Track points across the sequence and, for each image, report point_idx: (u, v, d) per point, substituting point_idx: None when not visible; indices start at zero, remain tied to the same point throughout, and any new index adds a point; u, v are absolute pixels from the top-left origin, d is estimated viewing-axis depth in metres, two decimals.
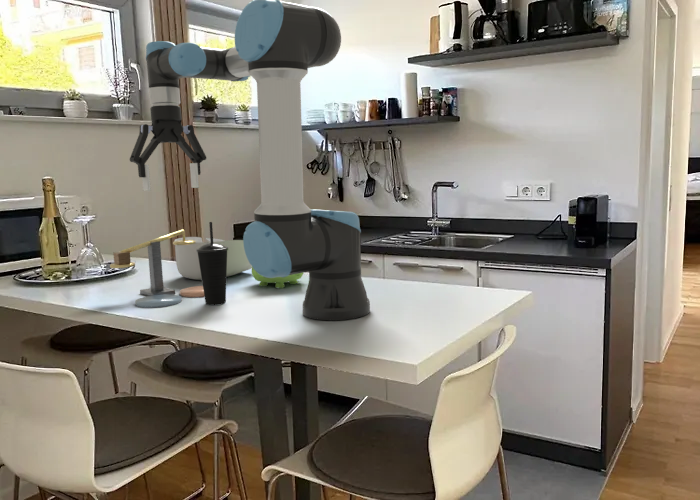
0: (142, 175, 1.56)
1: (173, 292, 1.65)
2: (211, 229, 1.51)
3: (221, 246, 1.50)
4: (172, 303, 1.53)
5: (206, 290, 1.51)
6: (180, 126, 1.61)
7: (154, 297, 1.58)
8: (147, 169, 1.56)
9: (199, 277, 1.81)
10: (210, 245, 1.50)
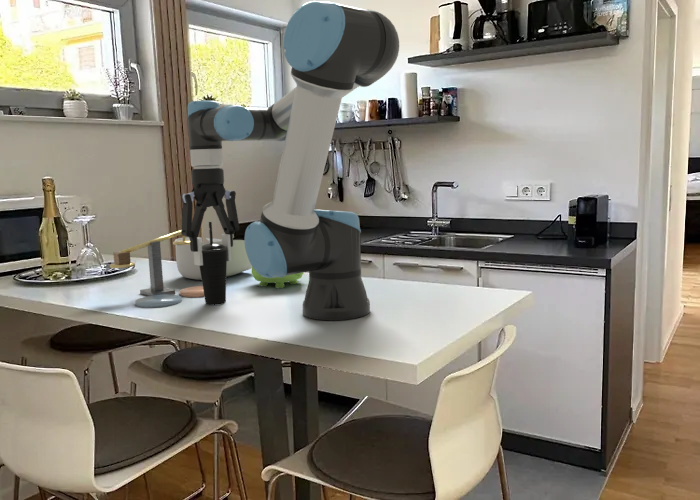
0: (194, 249, 1.47)
1: (173, 292, 1.65)
2: (210, 229, 1.50)
3: (221, 246, 1.50)
4: (172, 303, 1.53)
5: (206, 290, 1.51)
6: (223, 189, 1.51)
7: (154, 297, 1.58)
8: (200, 243, 1.48)
9: (199, 277, 1.81)
10: (210, 245, 1.49)
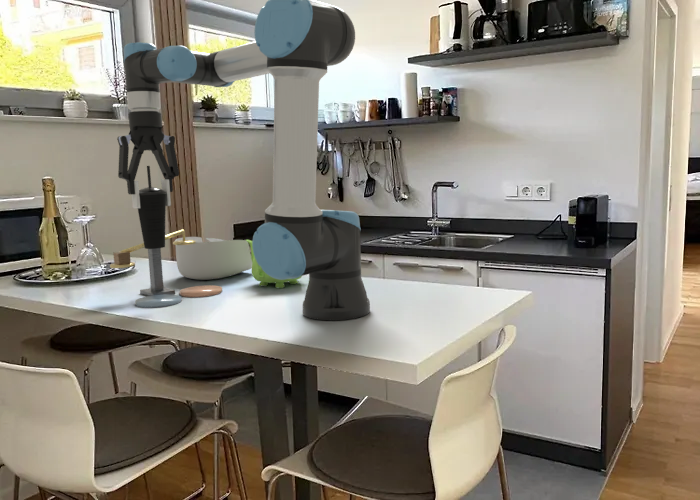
0: (131, 192, 1.48)
1: (173, 292, 1.65)
2: (149, 173, 1.51)
3: (159, 190, 1.51)
4: (172, 303, 1.53)
5: (144, 234, 1.51)
6: (161, 133, 1.52)
7: (154, 297, 1.58)
8: (137, 186, 1.48)
9: (200, 277, 1.81)
10: (147, 188, 1.50)
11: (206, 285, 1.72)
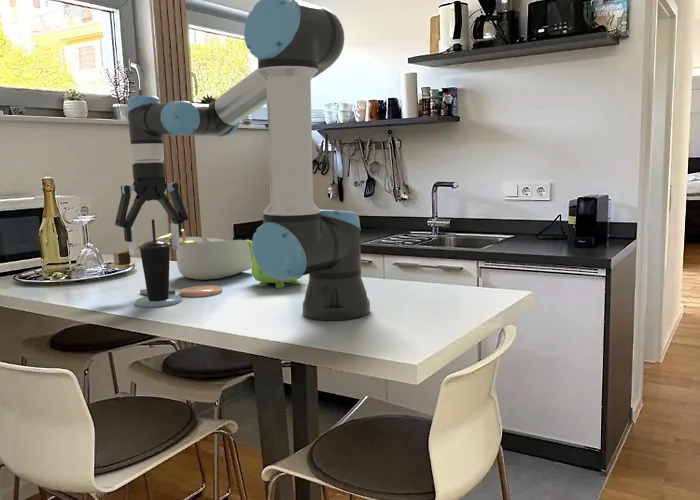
0: (128, 240, 1.49)
1: (173, 292, 1.65)
2: (153, 226, 1.53)
3: (163, 243, 1.53)
4: (172, 303, 1.53)
5: (148, 286, 1.53)
6: (164, 183, 1.53)
7: None
8: (133, 233, 1.49)
9: (200, 277, 1.81)
10: (152, 242, 1.52)
11: (206, 285, 1.72)
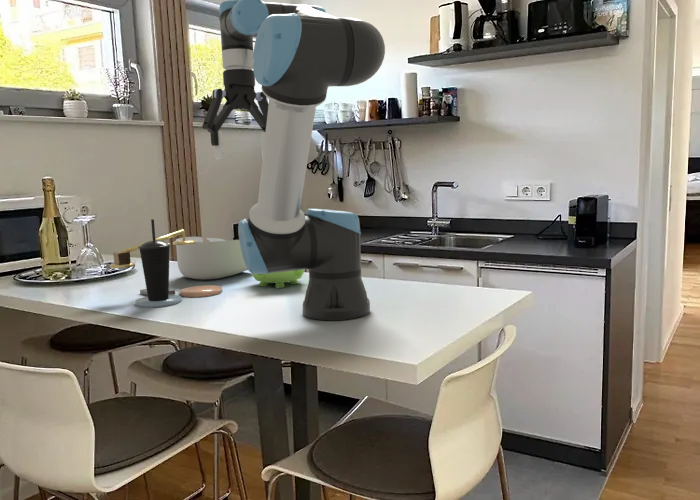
0: (215, 143, 1.47)
1: (173, 292, 1.65)
2: (153, 226, 1.53)
3: (163, 243, 1.53)
4: (172, 303, 1.53)
5: (148, 286, 1.53)
6: (253, 92, 1.52)
7: None
8: (220, 137, 1.47)
9: (201, 277, 1.81)
10: (151, 242, 1.52)
11: (206, 285, 1.72)
